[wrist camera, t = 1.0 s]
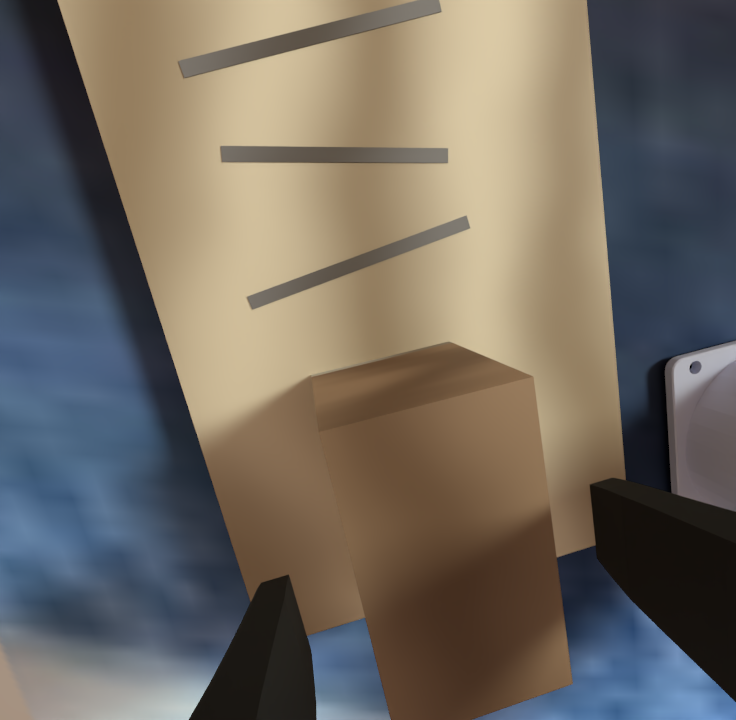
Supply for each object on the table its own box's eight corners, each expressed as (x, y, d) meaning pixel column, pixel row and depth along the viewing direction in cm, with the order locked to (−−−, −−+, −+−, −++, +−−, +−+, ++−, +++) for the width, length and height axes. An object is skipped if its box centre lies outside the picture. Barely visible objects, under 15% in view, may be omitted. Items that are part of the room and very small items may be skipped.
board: (533, -207, 12) (565, -273, 11) (602, 513, 18) (630, 534, 16) (26, -161, 11) (-17, -231, 9) (268, 615, 16) (265, 649, 14)
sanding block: (449, 341, 14) (533, 376, 9) (485, 554, 15) (572, 684, 10) (311, 374, 13) (318, 432, 8) (364, 592, 15) (397, 745, 10)
